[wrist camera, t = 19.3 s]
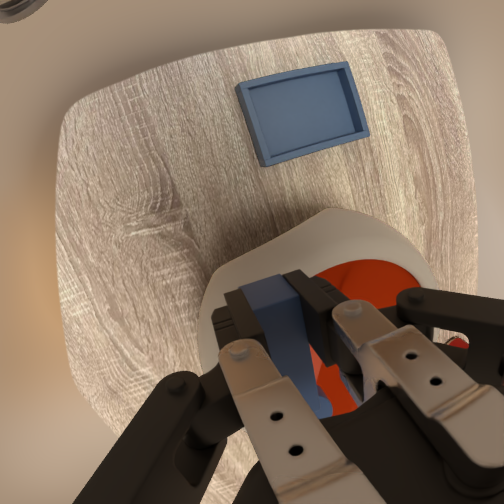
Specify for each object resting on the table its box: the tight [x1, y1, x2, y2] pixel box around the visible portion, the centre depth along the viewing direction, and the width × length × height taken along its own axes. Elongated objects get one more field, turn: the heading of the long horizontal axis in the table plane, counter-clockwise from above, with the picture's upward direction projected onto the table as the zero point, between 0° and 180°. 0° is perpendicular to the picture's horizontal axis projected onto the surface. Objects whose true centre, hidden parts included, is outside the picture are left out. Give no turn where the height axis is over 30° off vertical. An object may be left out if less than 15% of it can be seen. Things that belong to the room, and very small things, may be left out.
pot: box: [197, 207, 440, 433], centre depth 33 cm, size 24×24×18 cm
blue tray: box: [235, 61, 370, 167], centre depth 34 cm, size 10×14×2 cm
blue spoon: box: [238, 274, 333, 419], centre depth 13 cm, size 9×4×2 cm, turn 14°
